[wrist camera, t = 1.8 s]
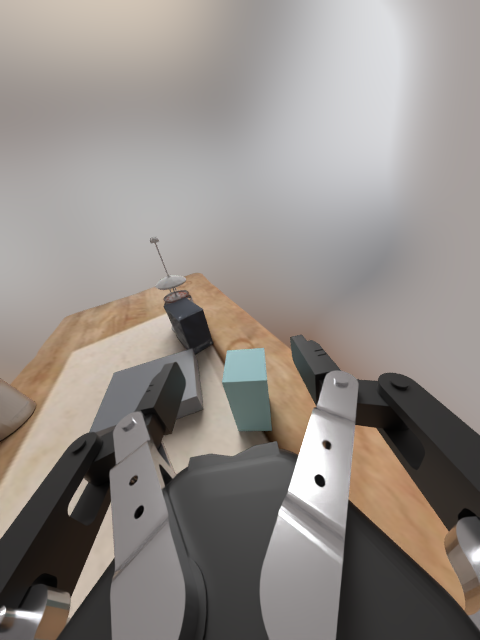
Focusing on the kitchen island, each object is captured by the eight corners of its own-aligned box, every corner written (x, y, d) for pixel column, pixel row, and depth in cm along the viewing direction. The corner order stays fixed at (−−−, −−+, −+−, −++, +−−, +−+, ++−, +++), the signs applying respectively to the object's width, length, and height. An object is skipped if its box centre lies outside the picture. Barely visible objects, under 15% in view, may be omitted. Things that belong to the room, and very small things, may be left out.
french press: (174, 337, 48) (129, 243, 35) (168, 319, 57) (131, 239, 44) (206, 324, 52) (177, 233, 38) (196, 309, 60) (169, 231, 47)
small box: (215, 343, 44) (204, 308, 38) (192, 357, 41) (177, 321, 35) (197, 327, 51) (185, 295, 45) (176, 337, 48) (161, 305, 42)
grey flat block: (104, 446, 27) (87, 435, 25) (124, 384, 37) (114, 372, 34) (203, 409, 29) (196, 395, 27) (197, 360, 39) (192, 348, 37)
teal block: (238, 431, 26) (222, 382, 19) (240, 399, 30) (227, 350, 23) (271, 430, 25) (266, 380, 18) (269, 398, 29) (263, 347, 23)
